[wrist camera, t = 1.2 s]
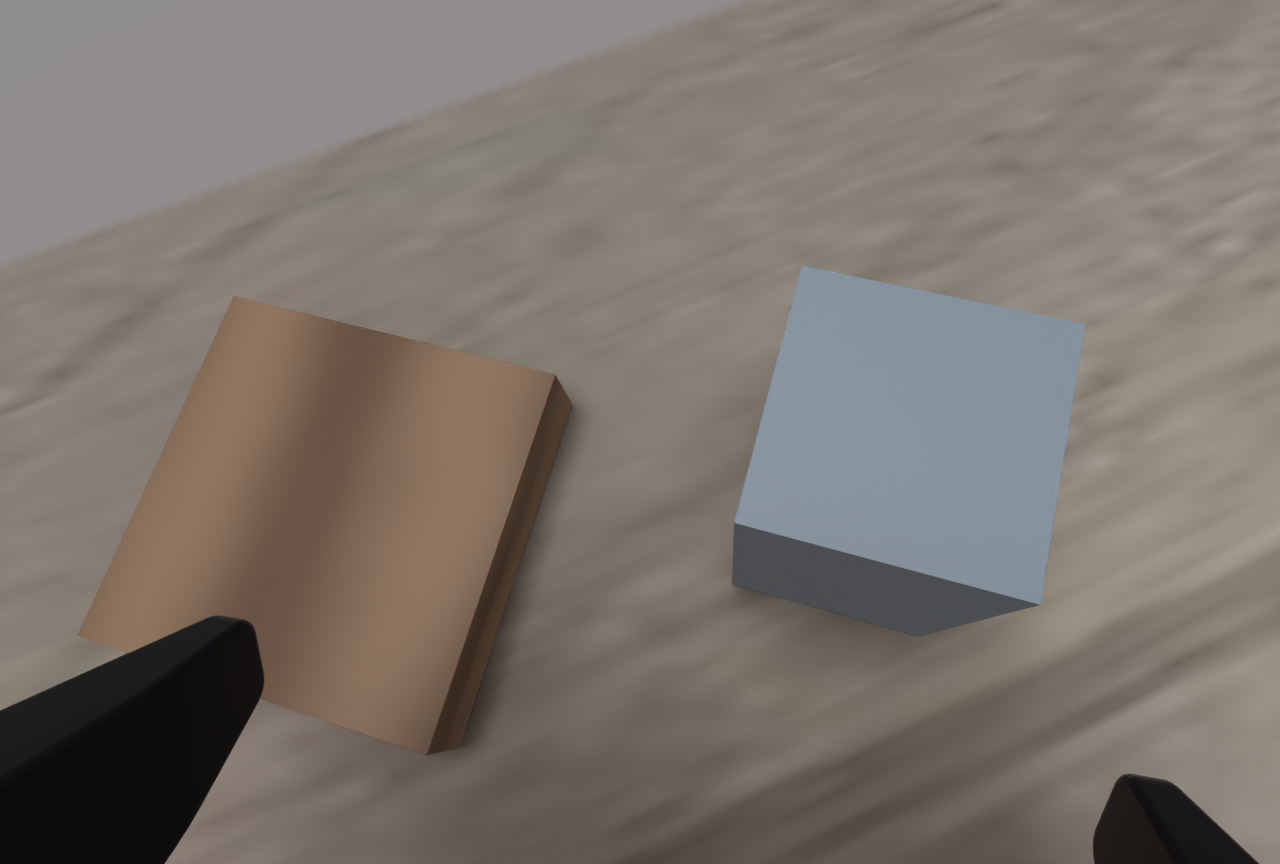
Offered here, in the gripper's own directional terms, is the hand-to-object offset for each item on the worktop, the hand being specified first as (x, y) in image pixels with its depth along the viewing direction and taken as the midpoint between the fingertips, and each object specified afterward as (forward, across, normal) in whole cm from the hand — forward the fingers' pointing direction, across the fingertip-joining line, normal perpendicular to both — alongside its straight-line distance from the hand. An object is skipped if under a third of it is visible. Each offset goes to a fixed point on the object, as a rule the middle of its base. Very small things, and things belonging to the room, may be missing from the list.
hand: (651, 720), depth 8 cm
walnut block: (+13, +10, +7) cm, 18 cm away
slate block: (+14, -3, +6) cm, 15 cm away
